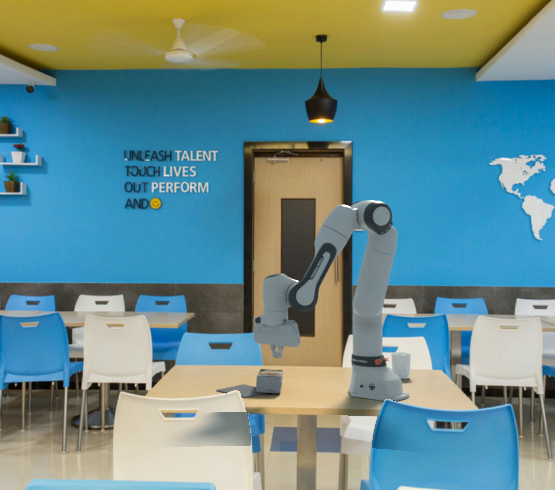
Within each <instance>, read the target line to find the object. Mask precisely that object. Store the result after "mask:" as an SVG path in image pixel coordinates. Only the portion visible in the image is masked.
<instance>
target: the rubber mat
mask: <svg viewBox="0 0 555 490" xmlns="http://www.w3.org/2000/svg"><path fill="white" fill-rule="evenodd" d="M233 390H238V391H240V393H241V396H242V397H241V398H243V399H248V398H252V397H255V396H256V397H257V396H261V395H265V394H266V393H263V392H256V386H253V385H249V384H238V385H234V386H229V387H224V388H223V387H222V388H220V389H216V392H220V393H222V394H227V393H226V392H230V391H233Z"/></svg>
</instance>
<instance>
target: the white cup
mask: <svg viewBox="0 0 555 490" xmlns="http://www.w3.org/2000/svg"><path fill="white" fill-rule="evenodd" d="M411 356H412V355H411V353H409V352H402V351H401V352H398V351H396V352H391V367H392V368H391V370H392V371H393V372H394V373H395V374H396V375H397V376H398V377H399V378H400V379H401V380H407V379H410V371H411Z"/></svg>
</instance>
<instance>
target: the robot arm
mask: <svg viewBox="0 0 555 490" xmlns="http://www.w3.org/2000/svg"><path fill="white" fill-rule="evenodd" d="M356 229H357V230H358V229H359V230H362V231H363V230H364V231H366V232H367V242H366V246H365V250H364V254H363V259H362V263H361V266H360V269H359V270H360V271H359V275H358V279H357V281H356V285H355V286H356V287H355V290H354V293H353V294H354V295H353V299H352V353H351V361H350V362H351V363H350V364H351V377H350V383H349V388H348V393H349V394H350V396H351V397H354V398H355V397H356V398H363V399H369V400H376V401H382V402H385V401H384V400H385V399H391V400H394V401H393V402H397V401H402V400H405V399H407V398H409V397H410V395H409V394H410V393H409V392H407V391H404V389H403V383H402V379H400V378H399V377H398V376H397V375H396V374H395V373H394V372H393V371H392V368H390V367H389V366H387V362H389V359H390V358H389V357H385V355H384V354H383V308H384V303H385V299H386V295H387V290H388V286H389V280H390V275H391V271H392V268H393V264H394V260H395V256H396V251H397V245H398V234H399V233H398V230H397V228H396V227H395V226H393V213H392V210H391V208H390V206H389V205H388V204H387V203H385V202H383V201H380V200H373V199H371V200H370V199H369V200H368V199H367V200H358V201H356V202H354V203H352V204H350V205H346V204H337V205H336V206H335V207H334V208H333V209H332V210H331V211H330V213H329V214H328V215H327V217H326V218H325V219H324V221H323V223H322V225H321V226H320V227H319V229H318V232H317V234H316V237H315V239H314V250H315V252H314V257H313V260H312V262H311V263H310V265H309V267H308V269H307V270H306V272H305V274H304V276H303V278H302V279H301V280H300V281H299V280H296V279H294V278H291V277H289V276H287V274H285V273H282V272H279V273H274V274H269V275H267V276H266V277H264V279H263V283H262V301H263V309H262V312H263V313H262V314H261V315H258V316H256V317H253V320H252V321H253V324H254V326H253V341H254V342H255V344H257V345H259V344H260V345H269V349H270V351H271V354H272V358H274V359H281V358H282V357H283V351H284V349H285V347H288V348H296V347H299V346H300V345H301V334H300V330H299V325H298V322H297V321H296V320H294V319H289V311H288V310H289V308H292V309H293V310H294V311H296V312H299V313H308V312H310V311H312V310H313V309H314V308H315V307H316V305H317V303H318V300H319V291H320V287H321V285H322V283H323V281H324V279H325V276H326V275H327V273H328V272H329V270H330V267H331V266H332V264H333V263H334V261H335V260H336V259H337V258H338V256H339V255H340V253H341V252H342V251H343V249H344V248H345V246H346V245H347V243H348V242H349V239H350V237H351V236H352V234H353V232H355V230H356Z"/></svg>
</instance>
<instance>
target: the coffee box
mask: <svg viewBox="0 0 555 490" xmlns="http://www.w3.org/2000/svg"><path fill="white" fill-rule="evenodd" d="M259 369H260V370H259V372H258V374H257V375H256V380H255V381H256V382H255V383H256V385H255V387H256V392H263V393H265V394H280V393H281V392H282V391H281V390H282V386H283V385H282V384H283V369H272V368H271V369H269V368H259Z"/></svg>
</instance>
